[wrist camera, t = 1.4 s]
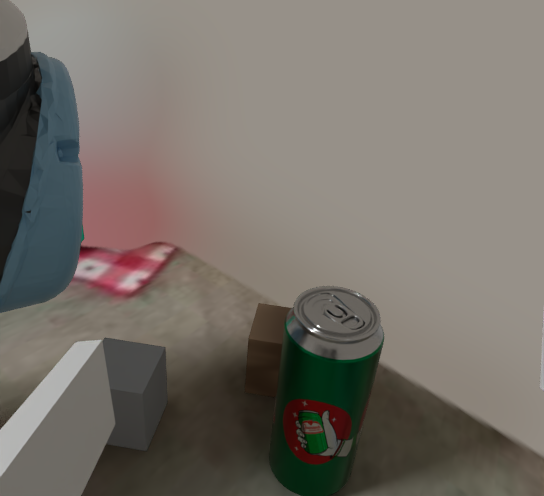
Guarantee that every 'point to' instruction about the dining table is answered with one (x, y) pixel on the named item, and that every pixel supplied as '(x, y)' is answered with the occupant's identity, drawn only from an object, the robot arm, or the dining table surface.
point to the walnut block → (265, 350)
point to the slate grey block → (135, 391)
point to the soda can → (323, 388)
